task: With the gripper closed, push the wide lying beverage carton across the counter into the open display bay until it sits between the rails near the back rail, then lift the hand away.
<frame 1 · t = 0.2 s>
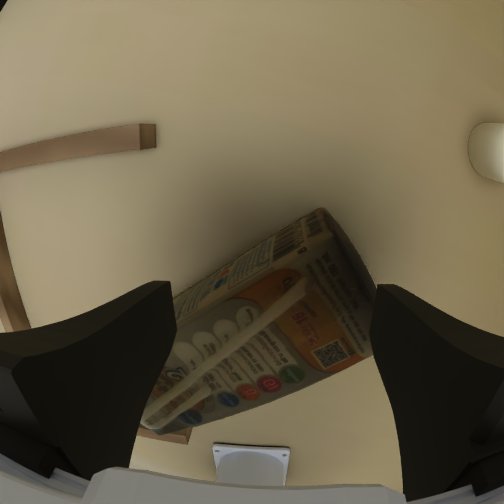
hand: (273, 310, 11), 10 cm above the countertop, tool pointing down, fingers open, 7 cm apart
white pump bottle: (488, 150, 17), on the countertop
beverage carton: (236, 315, 23), on the countertop
display bay: (73, 303, 24), on the countertop
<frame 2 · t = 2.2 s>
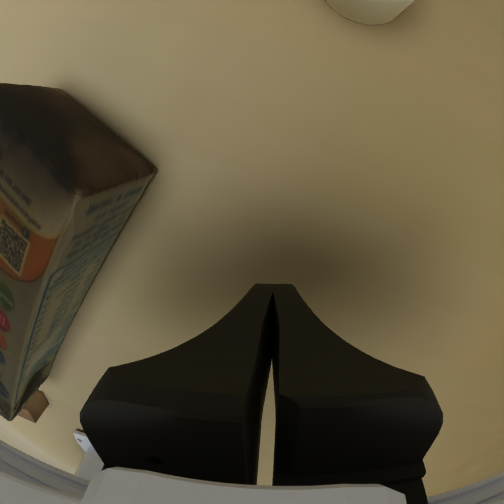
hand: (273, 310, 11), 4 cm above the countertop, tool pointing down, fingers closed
beverage carton: (41, 260, 16), on the countertop
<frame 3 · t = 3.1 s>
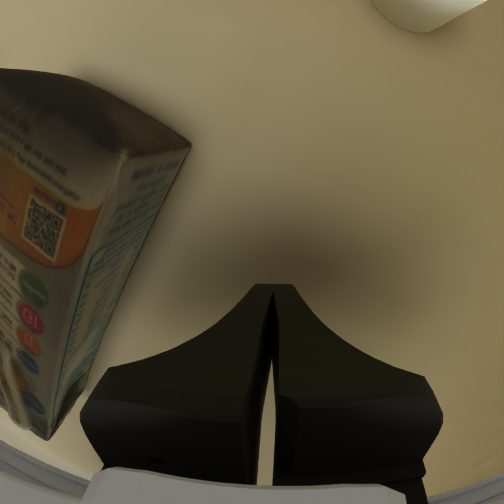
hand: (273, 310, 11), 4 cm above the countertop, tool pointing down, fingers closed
beverage carton: (68, 262, 16), on the countertop
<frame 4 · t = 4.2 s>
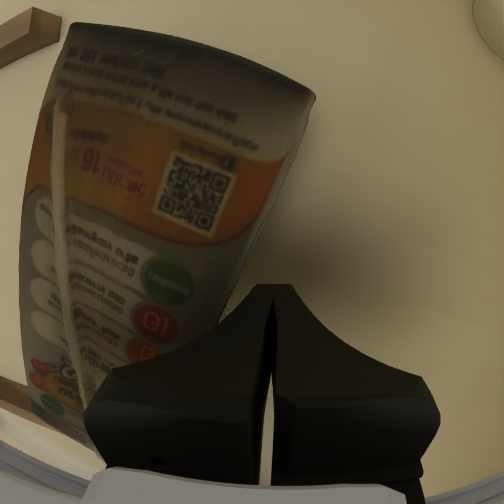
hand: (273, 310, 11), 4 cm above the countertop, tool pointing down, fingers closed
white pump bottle: (501, 27, 9), on the countertop
beverage carton: (153, 263, 15), on the countertop, touching gripper
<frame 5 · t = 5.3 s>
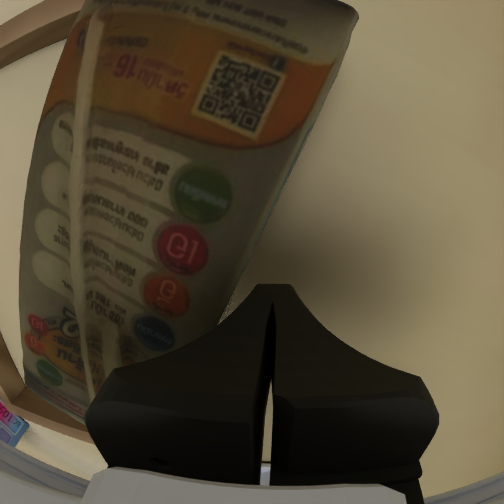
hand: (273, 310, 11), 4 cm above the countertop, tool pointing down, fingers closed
beverage carton: (168, 217, 14), on the countertop, touching display bay, gripper
display bay: (36, 259, 16), on the countertop
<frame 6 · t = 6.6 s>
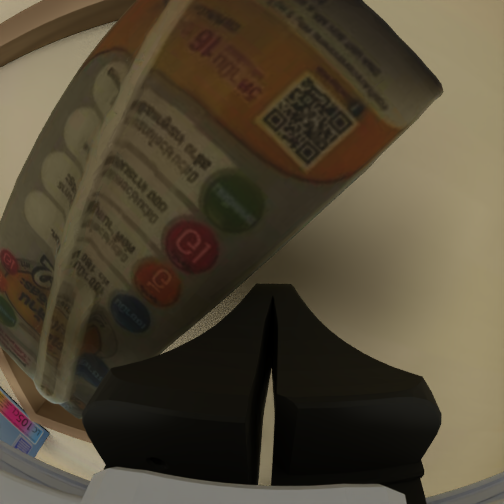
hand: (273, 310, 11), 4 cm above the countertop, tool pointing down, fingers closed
beverage carton: (169, 194, 14), on the countertop, touching display bay, gripper
display bay: (75, 260, 15), on the countertop
ink cartridge box: (11, 406, 23), on the countertop
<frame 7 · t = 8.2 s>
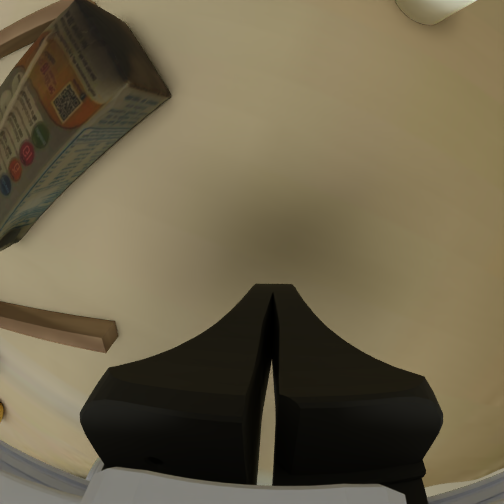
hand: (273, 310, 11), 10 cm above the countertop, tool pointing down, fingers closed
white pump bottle: (419, 0, 14), on the countertop
beverage carton: (58, 139, 20), on the countertop
display bay: (11, 184, 21), on the countertop
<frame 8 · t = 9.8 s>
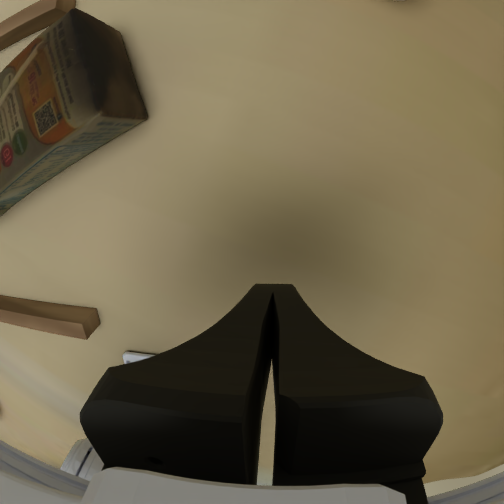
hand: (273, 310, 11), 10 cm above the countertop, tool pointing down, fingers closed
beverage carton: (42, 134, 20), on the countertop
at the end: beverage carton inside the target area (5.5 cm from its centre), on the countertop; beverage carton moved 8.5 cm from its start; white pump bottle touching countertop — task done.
